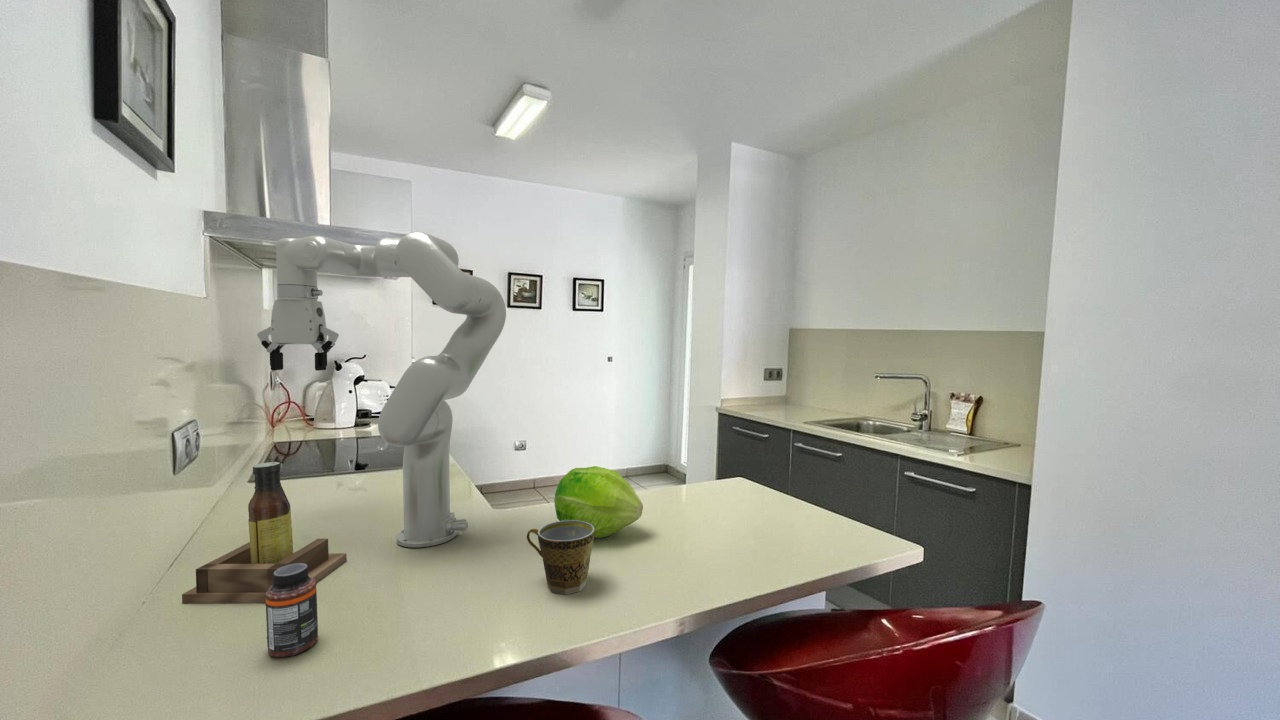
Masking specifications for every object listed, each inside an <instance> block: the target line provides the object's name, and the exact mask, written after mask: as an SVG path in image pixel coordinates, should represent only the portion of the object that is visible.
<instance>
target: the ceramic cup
mask: <svg viewBox="0 0 1280 720" xmlns="http://www.w3.org/2000/svg"><path fill="white" fill-rule="evenodd" d="M531 533H532V534H535V535H536V536H537V541H538V545H539V547H538V546H537V545H536V544H535V543H534V542H533V541H532V540H531V538H530V536H531V535H530V534H531ZM594 539H595V537H594V527H593V526H592V525H591V524H589V523H587V522H583V521H576V520H565V521H559V520H558V521H553V522H550V523H547V524H545V525H542V526H541V527H540V528H531V529H530V530H528V532H527V534H526V541H527V542H528V544H529V545H530V546H532V548H533V549H534V550H535V551H536V552H537V553H538V555H539V556H540V557H541V558H542V562H543V568H544V572H545V579H546V585H547V588H548V589H549V590H550V592H551V593H555V594H560V595H565V596H566V595H570V594H574V593H577V592H580V591H582V590H583V589H584V587H586V585H587V581H588V580H587V579H588V576H589V575H588V573H589V567H590V562H591V555H592V551H593V544H594Z"/></svg>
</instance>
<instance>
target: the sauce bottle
mask: <svg viewBox="0 0 1280 720" xmlns="http://www.w3.org/2000/svg"><path fill="white" fill-rule="evenodd" d="M281 468H282V467H281V463H280V462H278V461H271V462H263V463H257V464H254V465H253V466H252V474H253V475H254V493H253V495H252V497H251V499H250V500H249V502H248V506H247V507H248V508H247V509H248V522H247V523H248V533H249V534H248V535H249V536H248V537H249V542H250V553H251V564H276V563H278V562H280V561H281V560H283V559H285V558H286V557H288V556H290V555H291V554H293V553H294V542H293V526H292V512H291V504H290V501H289V499H288V498H287V495H286V493H285V490H284V488H283V486H282V483H281V473H280V472H281V470H282V469H281Z"/></svg>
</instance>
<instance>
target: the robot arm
mask: <svg viewBox="0 0 1280 720" xmlns="http://www.w3.org/2000/svg"><path fill="white" fill-rule="evenodd" d="M275 249H276V250H275V253H276V254H275V255H276V256H275V257H276V296H277V299H274V302H273V305H272V311H271V320H270V326H269V327H267V328H265V329H263V330H260V331H259V332H258V333H257V334H256V336H257V337H258V339H259V341H260V343H261V345H262V347H264V349H265V350H266V352H267V353H268V354H269V365H270V370H271V371H282V370H283V369H284V353H283V352H281V351H282V350H283V348H284V347H285V346H286V345H311V346H312V347H313V348H314V350H316V351H317V352H315V353H314V370H315V371H318V372H319V371H326V370H327V366H328V353H330V351H331V349H332V348H333V347H334V346H335V345H336V342H337V340H338V338H339V335H340V334H339V333H337V332H335V331H334V330H332V329H330V328H328V327H327V321H326V315H325V311H324V306H323V304H322V303H323V302H322V301H320V300H319V301H318V299H319V296H321V297H322V296H323V290H322V289H319V287H318V271H320V272H325V273H331V274H336V275H340V276H345V277H359V278H360V277H362V278H394V277H395V278H411V279H412V280H413V281H414V282H415V283H416V284H417V285H418V287H420V288H421V289H422V291H423V292H424V293H425V294H426V295H427V296H428V297H429V298H430V299H431V300H432V301H433V302H434V303H435V304H436V306H438V307H439V308H441V309H443V310H444V311H446V312H448V313H451V314H459V315H464V316H466V318H465V320H464V321H463V322H462V323H461V324H460V325H459V326H458V327H457V329H455V330H454V332H453V333H452V335H451V337H450V338H449V340H448V342H447V343H446V345H445V347H444V348H443V349H442V351H441V352H440V353H439V354H437V355H430V356H429V355H428V356H424V357H421V358H419V359H417V360H415V361H414V362H413V363H411V365H409V366H408V368H407V369H406V370H405V372H404V373H403V374H402V376H401V377H400V379H399V381H398V383H397V384H396V386H394V389H393V390H392V392H391V394H390V395H389V397H388V399H387V400H386V402H385V404H384V406H383V407H382V409H381V411H380V413H379V417H378V421H377V427H378V433H379V435H380V437H381V439H382V440H383V441H384V442H385V443H386V444H388V445H390V446H392V447H397V448H404V449H403V456H402V491H403V492H402V495H403V496H402V497H403V529H402V530H400V532H397V534H396V540H395V541H396V543H397V544H398V545H399V546H401V547H405V548H413V549H414V548H417V549H418V548H427V547H432V546H437V545H440V544H443V543H446V542H449V541H451V540H453V539H454V538H455V537H456V536H458V533H459V531H460V532H461V531H462V532H463V531H464V532H466V531H468V529H469V521H467V519H466V518H458V519H457V518H456V517H455V512H452V511H451V498H450V497H451V493H450V491H451V490H450V487H451V485H450V484H451V482H450V444H451V435H452V430H453V420H454V419H453V413H452V409H451V407H450V405H449V404H448V402H447V401H448V400H451V399H455V398H457V397H460V396H461V395H463V394H464V393H465V392H466V391H467V390H468V389H469V387H470V386H471V383H472V382H473V380H474V378H475V377H476V375H477V374H478V372H479V370H480V369H481V367H482V365H483V364H484V362H485V360H486V358H487V357H488V355H489V354H490V352H491V350H492V348H493V347H494V345H495V344H496V342H497V341H498V338H500V336H501V333H502V332H503V329H504V326H505V323H506V321H507V320H506V318H507V309H506V303H505V299H504V298H503V296H502V294H501V292H500V291H499V289H498V288H497V287H496V286H495V285H494V284H492V283H491V282H490V281H489V280H487V279H484V278H482V277H479V276H475V275H471V274H468V273H465V272H464V271H462V269H461V268H460V267H459V255H458V253H457V250H456V249H455V248H454V246H453V245H452V244H451V243H449V242H448V241H446V240H443V239H441V238H439V237H436V236H434V235H432V234H429V233H428V232H427V233H426V232H423V231H413V232H410V233H407V234H405V235H403V236H402V237H383V238H381V239H379V240H378V241H377V243H376V244H375V245H363V244H362V245H359V244H358V245H357V244H351V243H348V242H343V241H341V240H338V239H337V240H336V239H334V238H330V237H327V236H322V235H310V236H305V237H300V238H295V237H293V238H292V237H283V238H280V239H278V241H277V242H276V248H275ZM269 336H270V338H269ZM270 339H271V340H270ZM446 400H447V401H446Z"/></svg>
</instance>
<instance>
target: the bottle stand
mask: <svg viewBox="0 0 1280 720" xmlns="http://www.w3.org/2000/svg"><path fill="white" fill-rule="evenodd" d="M347 555H348V553H346V552H345V553H344V552H343V553H342V552H341V553H340V552H338V553H333V552H332V553H329V538H317V539H315V540H313V541H312V542H310V543H307V545H304V546H303V547H301V548H300V549H298V550H296V551H295V552H293V554H291V555H290V556H288V557H286V558H285V559H283V560H281V561H280V562H278V563H276V564H251V553H250V541H249V542H247V543H245V544H243V545H241V546H239V547H237V548H235V549H233V550H231V551H229V552H228V553H225V554H223V555H221V556H219V557H217V558H216V559H213V560H211V561H210V562H207V563H205V564H203V565H202V566H201V565H200V566H199V567H197V568H196V569H195V584H196V585H195V587H193V588H191V589H189V590H187V591H186V592H183V593H182V594H181V603H182V604H266V592H267V590H268V589H269V588H270V587H271V586H272V585H273V584H274V582H273V574H274V572H275V571H276V570H277V569H278V568H280V567H283V566H286V565H289V564H295V563H304V564H306V565H307V566H308V576H309V577H312V578H313V579H314V580H315V581H316V584H317V583H319V582H320V581H321V580H322V579H324V578H325V577H327V576H328V575H329V574H331V573H332V572H334V571H335V570H337V569H339V568H340V567H341V566H342V565H343V564H345V563H346V562H347V561H348V560H347V559H348V556H347Z"/></svg>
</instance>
